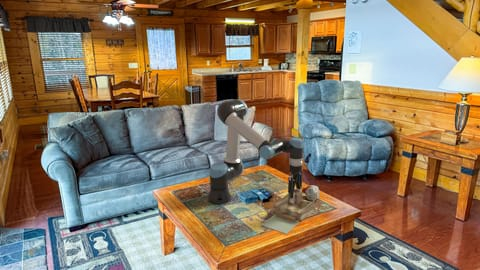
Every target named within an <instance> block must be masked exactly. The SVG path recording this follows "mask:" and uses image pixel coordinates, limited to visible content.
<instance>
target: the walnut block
mask: <svg viewBox="0 0 480 270" xmlns="http://www.w3.org/2000/svg"><path fill="white" fill-rule="evenodd" d="M294 193H295V202H294V204H299V203H300V202H301V201H302V199H303V193H302V190H300V191H298V190H295V189H294ZM287 194H288V202H290V193H288V192H287Z"/></svg>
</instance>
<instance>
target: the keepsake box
mask: <svg viewBox="0 0 480 270" xmlns="http://www.w3.org/2000/svg"><path fill="white" fill-rule="evenodd" d="M315 201H316V200H315ZM315 201H311V200H309V201H308V200H305V199H303V198H302V201H301V202H300V203H299V204H293V203H290V202H288V193H287V194H286V195H284V196H283V197H281V198H279V199H278V200H277V201H276V202H274V203H273V208H274V209H273V213H274V214H276V212H280V213H283V214H286V215H289V216H292V217H295V218H296V220H298V221H300V223H302V222H303V221H304V220H305V219H306V218H308V217H309V216H310V215H311V214H312V213H313V212H314V211H315Z"/></svg>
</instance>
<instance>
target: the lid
mask: <svg viewBox="0 0 480 270" xmlns="http://www.w3.org/2000/svg"><path fill="white" fill-rule="evenodd" d="M300 223H301V221H297V220H296V218H295V217H292V216H289V215H286V214H283V213H280V212H276V213H274V214H273V215H272V216H271V217H269V218H268V219H266V220H265V221H264V222H263V223H262V224H261V226H263V227H265V228H268V229H271V230H274V231H277V232H278V233H279V232H280V233H281V234H285V235H288V233H290V232H291V231H292V230H293V229H294V228H296V226H297V225H298V224H300Z"/></svg>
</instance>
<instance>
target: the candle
mask: <svg viewBox="0 0 480 270" xmlns="http://www.w3.org/2000/svg"><path fill="white" fill-rule="evenodd" d="M301 191H302V194H304V196H306V199H307V201H308V200H309V201H311V202H313V201H316V200H319V198H320V189H319V187H318V186H317V185H314V184H311V185H307V186H306V187H302V189H301Z"/></svg>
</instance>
